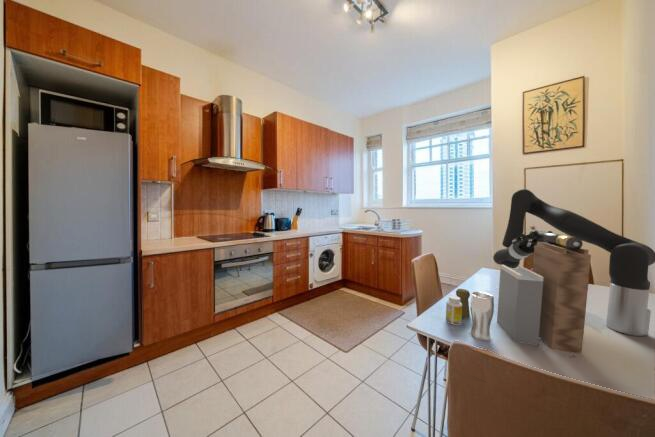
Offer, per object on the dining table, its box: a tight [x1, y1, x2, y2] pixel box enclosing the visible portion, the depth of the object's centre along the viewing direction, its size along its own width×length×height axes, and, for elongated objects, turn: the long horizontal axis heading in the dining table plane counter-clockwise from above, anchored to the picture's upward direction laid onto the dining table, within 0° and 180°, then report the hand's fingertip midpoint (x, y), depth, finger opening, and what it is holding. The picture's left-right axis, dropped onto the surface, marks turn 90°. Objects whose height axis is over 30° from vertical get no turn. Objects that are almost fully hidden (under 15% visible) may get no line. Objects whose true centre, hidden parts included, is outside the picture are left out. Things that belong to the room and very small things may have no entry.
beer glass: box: [470, 291, 495, 341], centre depth 86 cm, size 7×7×15 cm
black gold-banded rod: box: [528, 229, 584, 250], centre depth 86 cm, size 23×4×4 cm, turn 165°
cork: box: [455, 288, 471, 319], centre depth 102 cm, size 6×6×11 cm
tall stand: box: [532, 242, 592, 354], centre depth 84 cm, size 8×14×34 cm, turn 165°
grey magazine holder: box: [496, 265, 543, 346], centre depth 88 cm, size 7×14×24 cm, turn 165°
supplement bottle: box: [445, 295, 463, 326], centre depth 96 cm, size 6×6×10 cm
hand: (544, 233), depth 92 cm, fingers closed on black gold-banded rod, 4 cm apart
